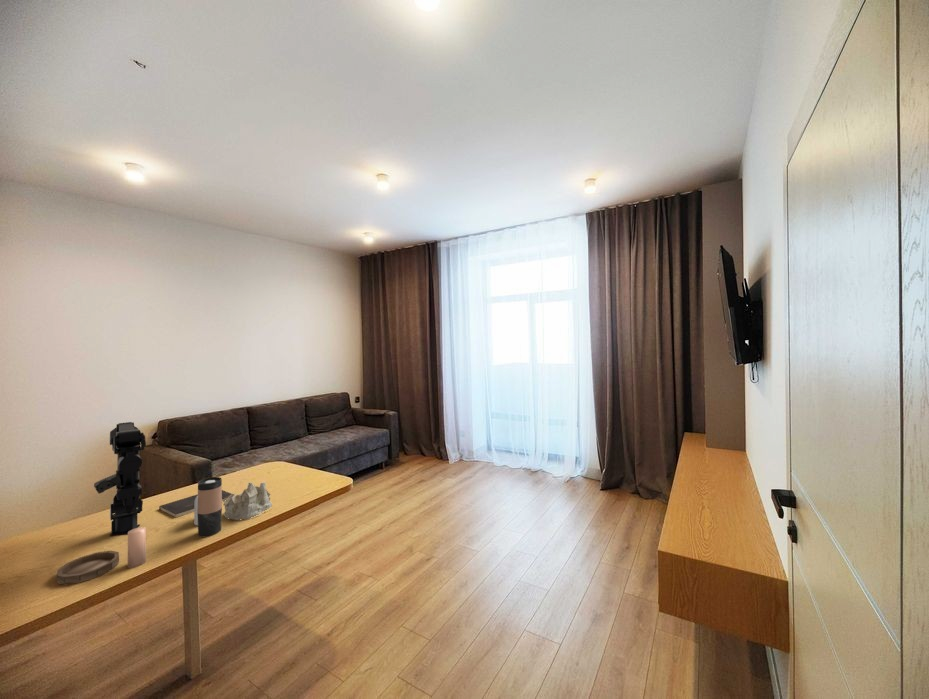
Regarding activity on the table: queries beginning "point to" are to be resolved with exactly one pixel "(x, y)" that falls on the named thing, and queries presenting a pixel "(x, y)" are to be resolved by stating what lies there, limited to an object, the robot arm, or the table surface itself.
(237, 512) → the ceramic cottage
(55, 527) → the table surface
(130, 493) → the robot arm
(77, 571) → the tray
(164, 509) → the hardcover book
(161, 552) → the table surface
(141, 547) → the candle
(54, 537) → the table surface
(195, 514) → the photo printer
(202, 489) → the travel mug
